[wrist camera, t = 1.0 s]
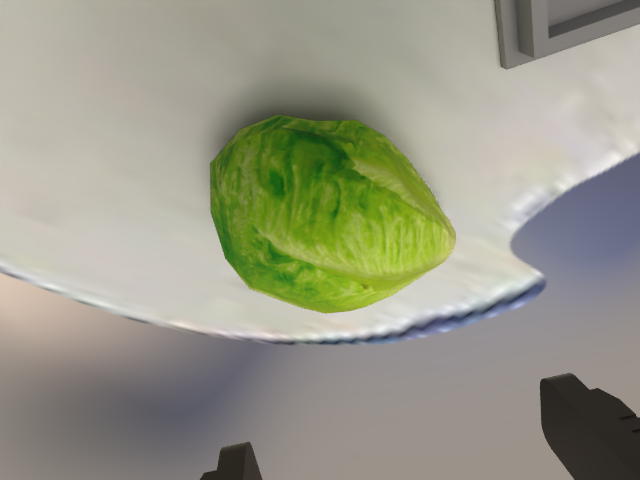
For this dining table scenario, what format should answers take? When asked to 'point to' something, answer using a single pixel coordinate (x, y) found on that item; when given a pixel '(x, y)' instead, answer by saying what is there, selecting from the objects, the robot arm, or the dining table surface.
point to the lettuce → (324, 213)
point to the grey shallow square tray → (557, 25)
